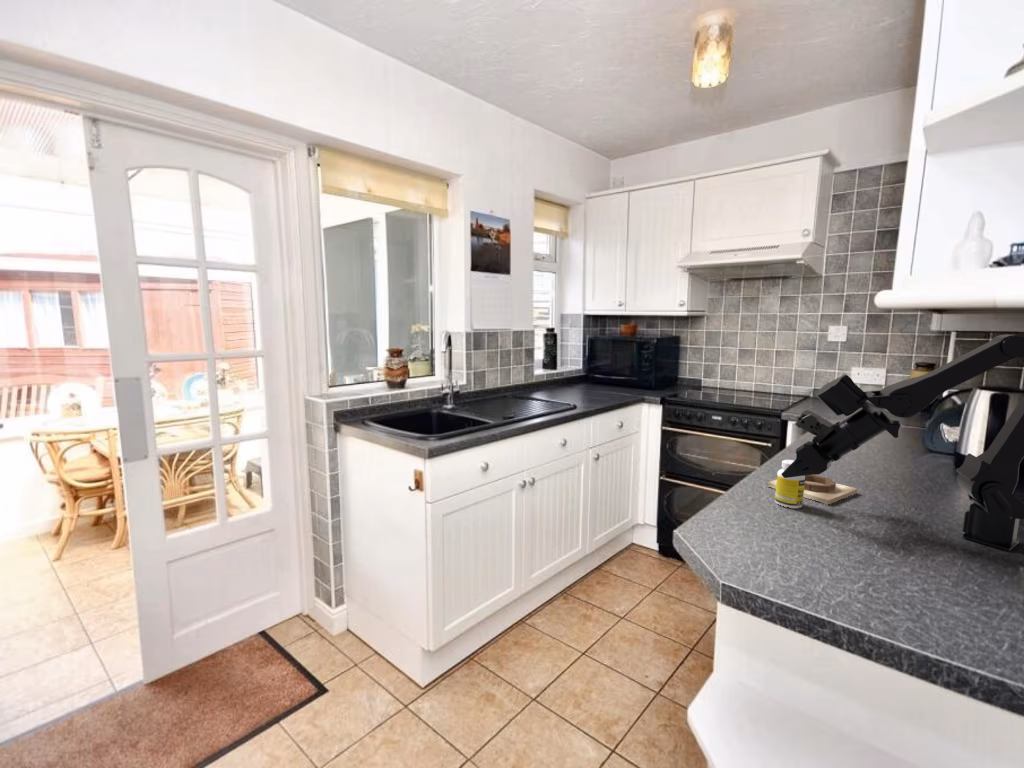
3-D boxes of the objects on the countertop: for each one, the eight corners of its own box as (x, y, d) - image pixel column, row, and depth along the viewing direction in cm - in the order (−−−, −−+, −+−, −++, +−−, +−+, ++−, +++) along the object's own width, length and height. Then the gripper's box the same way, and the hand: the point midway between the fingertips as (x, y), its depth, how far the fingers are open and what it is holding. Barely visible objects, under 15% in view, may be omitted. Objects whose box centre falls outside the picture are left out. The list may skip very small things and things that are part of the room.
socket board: (856, 493, 116) (858, 482, 116) (828, 505, 109) (829, 493, 108) (796, 477, 128) (797, 467, 128) (766, 487, 120) (767, 476, 120)
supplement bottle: (800, 511, 105) (804, 467, 104) (772, 505, 109) (776, 462, 107) (803, 503, 110) (807, 461, 108) (776, 498, 113) (780, 457, 112)
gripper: (835, 395, 109) (777, 435, 118) (812, 405, 96) (749, 449, 105) (874, 436, 105) (810, 474, 114) (856, 452, 91) (786, 493, 101)
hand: (789, 471), depth 108 cm, fingers open, 9 cm apart
